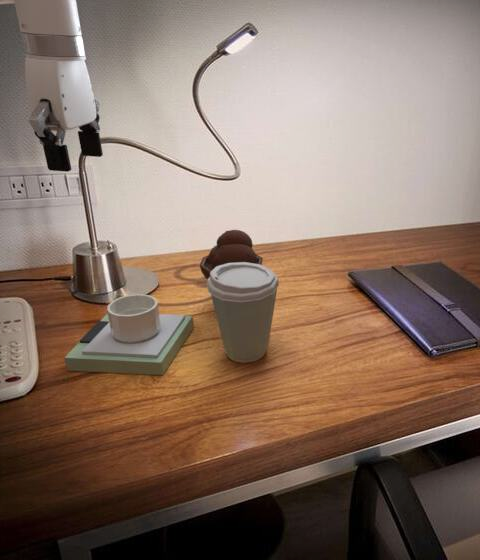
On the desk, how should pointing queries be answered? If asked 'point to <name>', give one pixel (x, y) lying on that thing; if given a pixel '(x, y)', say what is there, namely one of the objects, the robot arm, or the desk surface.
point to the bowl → (134, 318)
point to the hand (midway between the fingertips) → (77, 162)
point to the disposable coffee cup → (243, 307)
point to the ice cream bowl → (230, 251)
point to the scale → (130, 348)
